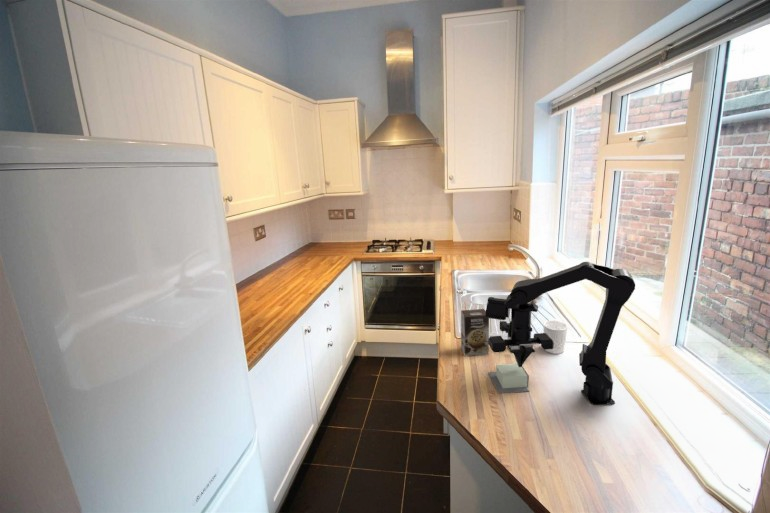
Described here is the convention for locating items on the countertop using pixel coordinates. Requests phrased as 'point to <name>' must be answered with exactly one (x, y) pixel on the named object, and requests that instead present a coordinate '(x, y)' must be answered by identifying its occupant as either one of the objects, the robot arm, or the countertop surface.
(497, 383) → the mat
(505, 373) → the sage block
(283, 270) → the countertop surface
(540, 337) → the robot arm
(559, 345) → the white cup
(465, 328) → the brown cookie box
